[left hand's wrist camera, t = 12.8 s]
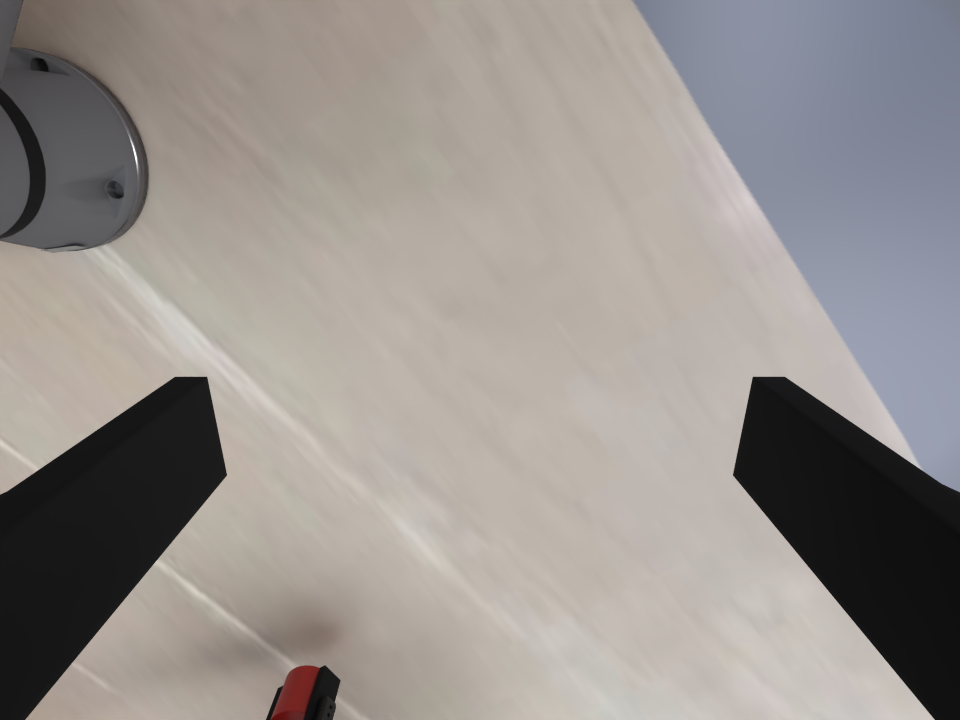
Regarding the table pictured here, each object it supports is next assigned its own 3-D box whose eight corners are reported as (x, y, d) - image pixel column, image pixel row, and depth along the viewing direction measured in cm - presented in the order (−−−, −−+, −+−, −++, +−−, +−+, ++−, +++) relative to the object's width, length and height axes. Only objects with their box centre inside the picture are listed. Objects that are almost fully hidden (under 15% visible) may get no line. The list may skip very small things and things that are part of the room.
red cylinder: (301, 703, 58) (286, 750, 53) (277, 673, 56) (259, 719, 52) (341, 690, 57) (329, 736, 52) (317, 659, 56) (302, 705, 51)
